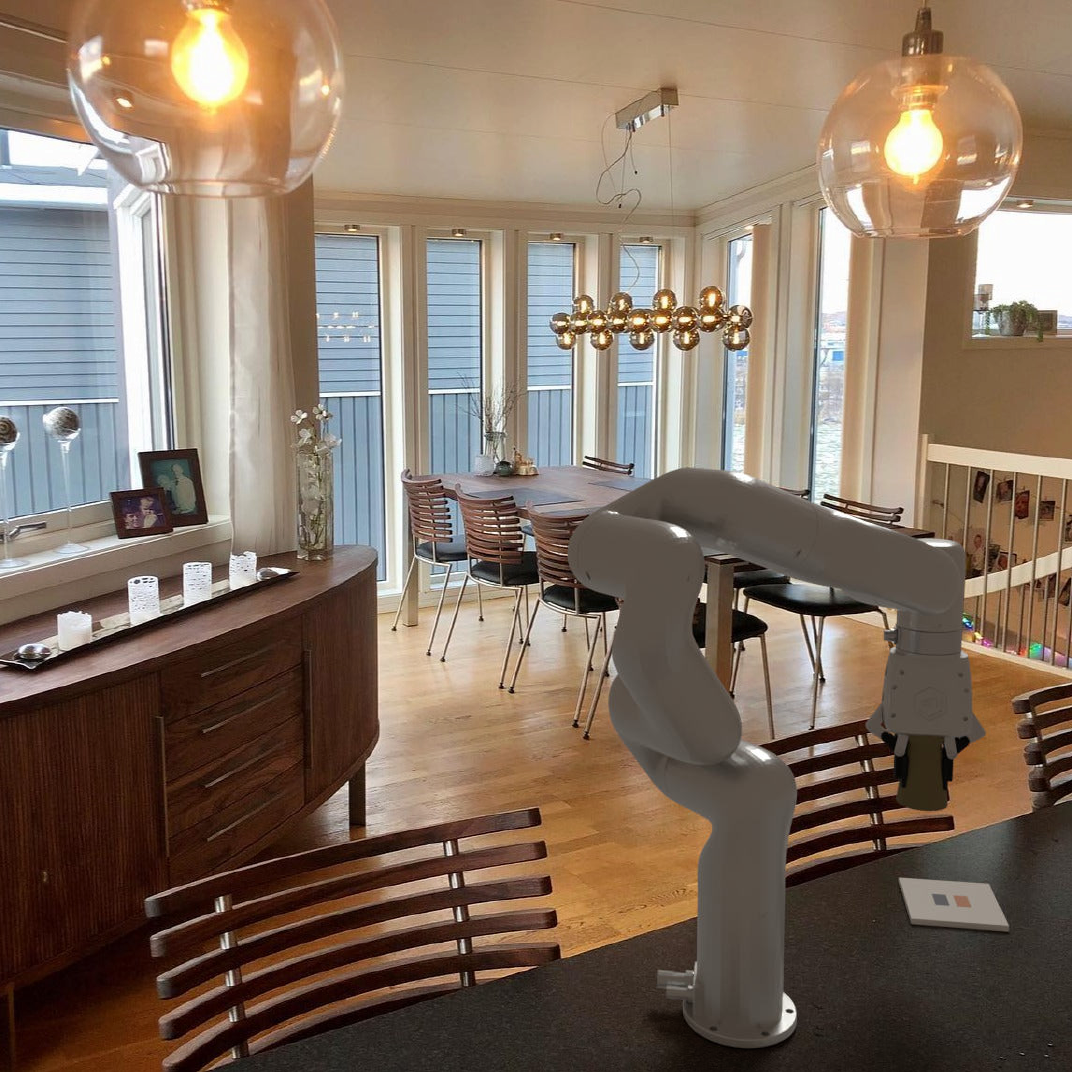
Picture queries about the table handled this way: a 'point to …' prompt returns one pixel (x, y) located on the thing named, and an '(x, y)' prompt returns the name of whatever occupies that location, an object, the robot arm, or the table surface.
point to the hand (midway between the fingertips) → (922, 783)
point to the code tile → (952, 904)
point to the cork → (923, 775)
